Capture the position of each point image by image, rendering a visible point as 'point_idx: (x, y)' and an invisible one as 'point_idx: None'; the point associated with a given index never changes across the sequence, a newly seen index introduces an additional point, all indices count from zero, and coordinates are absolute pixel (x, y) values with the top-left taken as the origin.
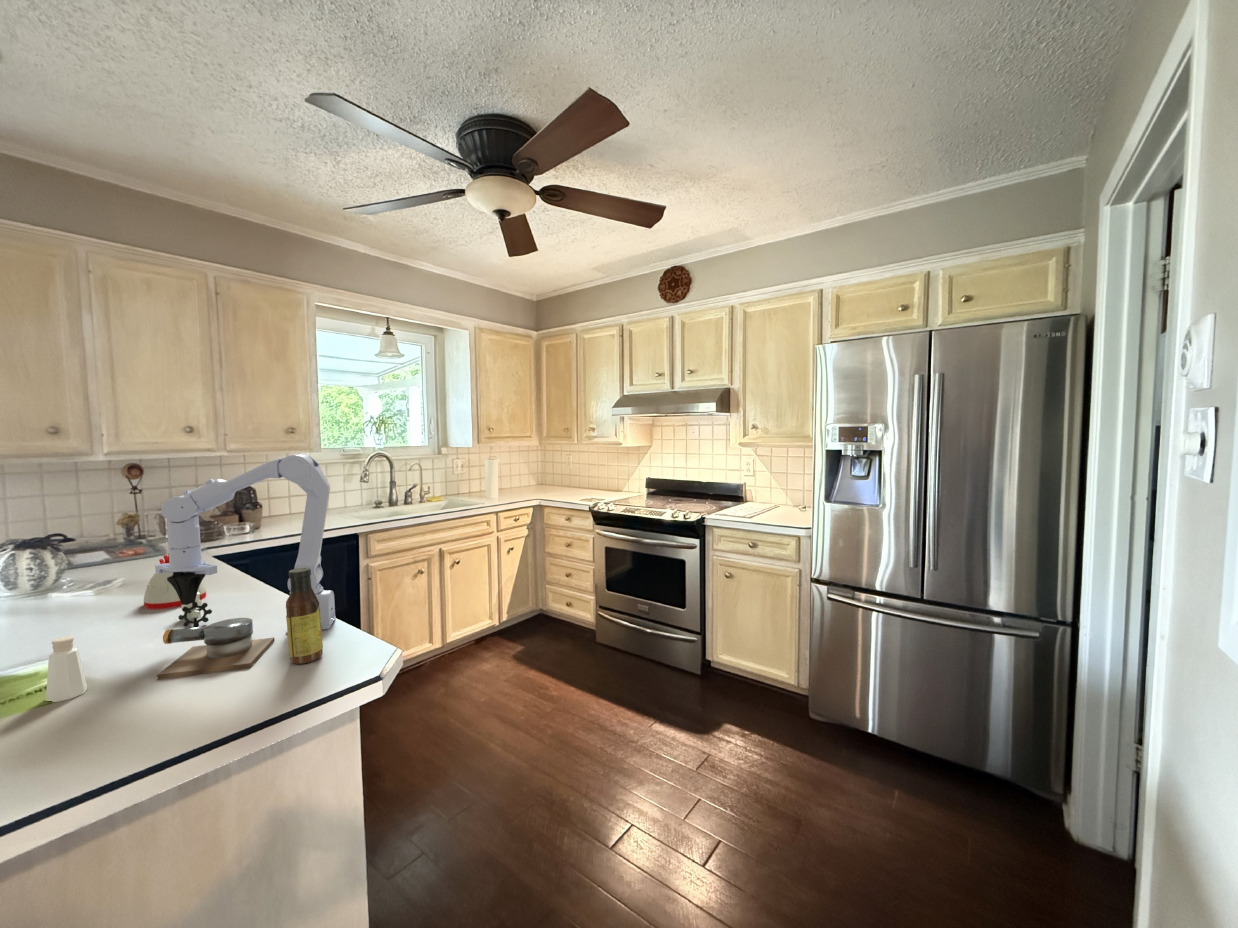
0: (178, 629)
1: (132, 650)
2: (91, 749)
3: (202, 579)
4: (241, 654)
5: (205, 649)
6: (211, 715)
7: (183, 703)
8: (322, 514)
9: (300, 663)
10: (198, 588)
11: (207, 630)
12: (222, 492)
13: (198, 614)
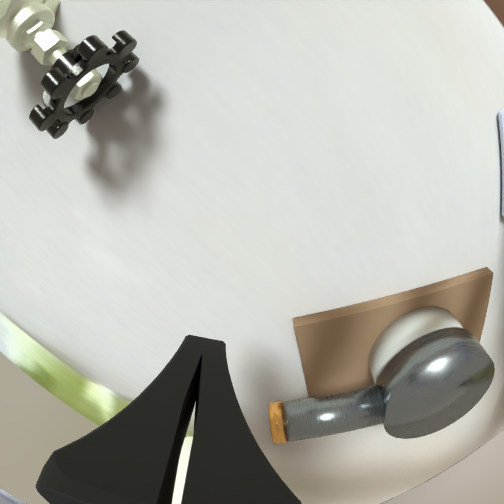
0: (306, 435)
1: (95, 294)
2: (349, 494)
3: (273, 470)
4: None
5: (348, 345)
6: (435, 457)
7: (398, 454)
8: None
9: None
10: (238, 406)
11: (400, 433)
12: None
13: (97, 79)
